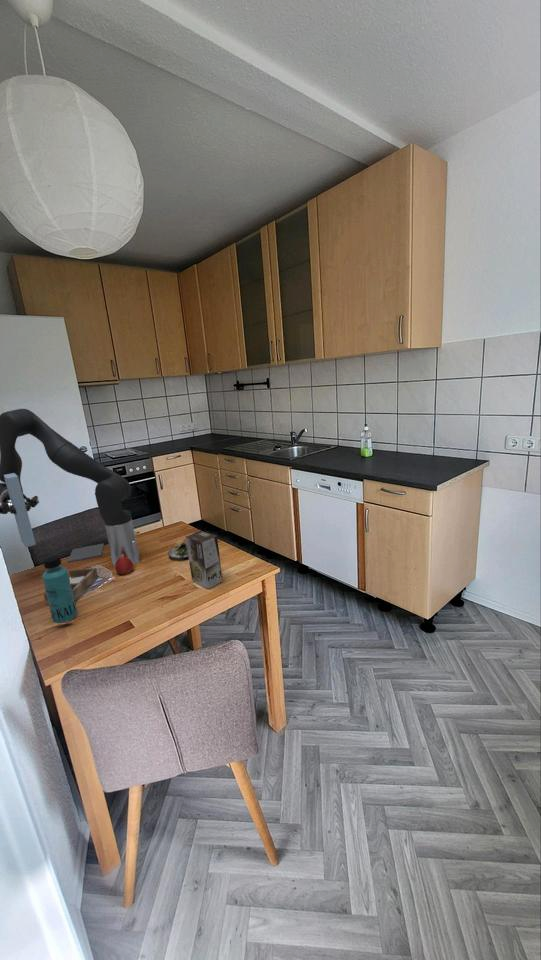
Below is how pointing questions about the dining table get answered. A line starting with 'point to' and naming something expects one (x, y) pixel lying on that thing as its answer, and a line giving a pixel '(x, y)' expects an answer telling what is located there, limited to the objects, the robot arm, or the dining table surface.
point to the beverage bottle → (59, 591)
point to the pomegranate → (123, 565)
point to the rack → (83, 585)
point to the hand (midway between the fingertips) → (21, 509)
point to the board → (20, 509)
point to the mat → (86, 552)
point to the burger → (178, 551)
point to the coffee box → (204, 558)
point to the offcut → (76, 579)
